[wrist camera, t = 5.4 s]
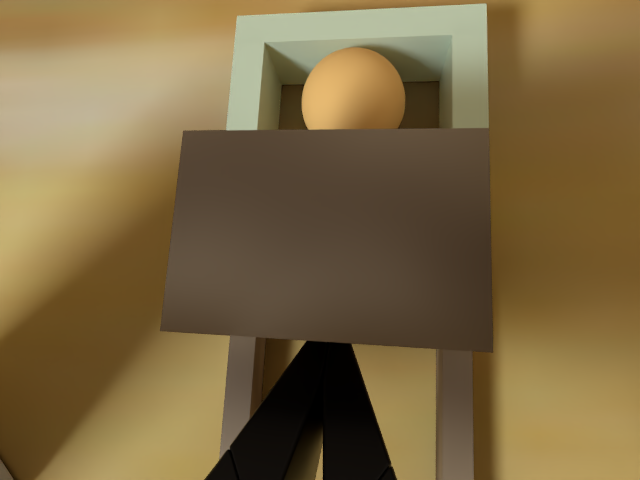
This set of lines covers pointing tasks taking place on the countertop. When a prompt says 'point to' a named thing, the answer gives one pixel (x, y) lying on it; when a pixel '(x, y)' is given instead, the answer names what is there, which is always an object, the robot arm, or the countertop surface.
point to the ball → (353, 92)
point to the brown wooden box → (334, 237)
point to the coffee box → (4, 473)
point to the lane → (450, 403)
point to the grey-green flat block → (371, 33)
